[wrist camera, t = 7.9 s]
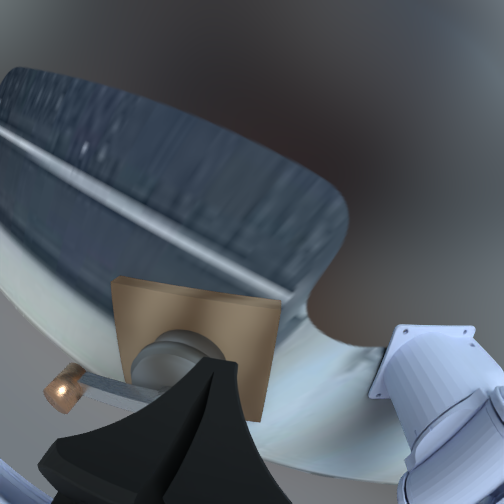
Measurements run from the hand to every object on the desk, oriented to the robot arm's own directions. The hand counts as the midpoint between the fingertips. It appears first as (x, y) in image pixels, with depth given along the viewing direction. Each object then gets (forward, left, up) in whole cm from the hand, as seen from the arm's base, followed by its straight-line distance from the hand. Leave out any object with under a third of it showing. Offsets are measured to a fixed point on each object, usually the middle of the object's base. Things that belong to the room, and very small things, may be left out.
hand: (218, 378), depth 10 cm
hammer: (+8, +7, -5) cm, 12 cm away
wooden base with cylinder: (+4, +7, -10) cm, 13 cm away
